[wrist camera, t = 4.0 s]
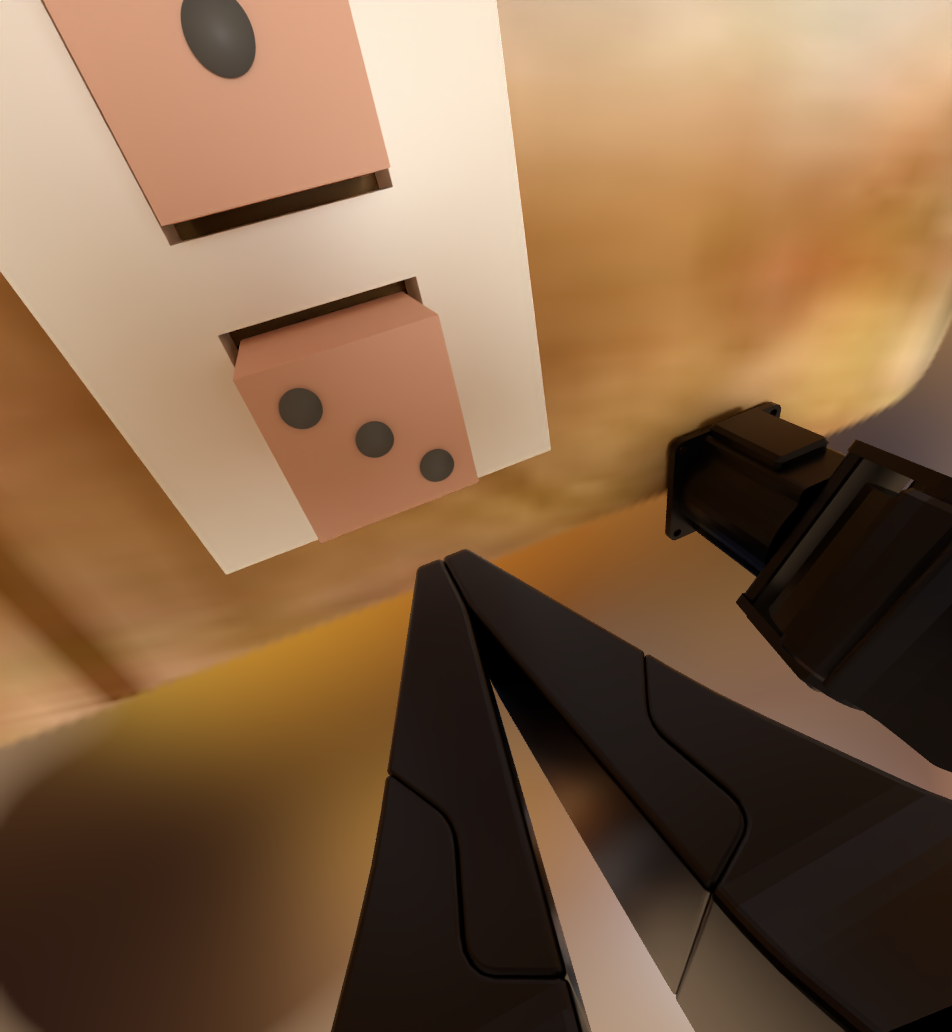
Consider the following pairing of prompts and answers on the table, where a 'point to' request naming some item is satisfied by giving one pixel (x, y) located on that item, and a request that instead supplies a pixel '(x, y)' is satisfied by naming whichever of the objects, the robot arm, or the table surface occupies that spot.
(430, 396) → the tile three dots
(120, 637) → the table surface
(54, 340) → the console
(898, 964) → the robot arm
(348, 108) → the tile one dot
